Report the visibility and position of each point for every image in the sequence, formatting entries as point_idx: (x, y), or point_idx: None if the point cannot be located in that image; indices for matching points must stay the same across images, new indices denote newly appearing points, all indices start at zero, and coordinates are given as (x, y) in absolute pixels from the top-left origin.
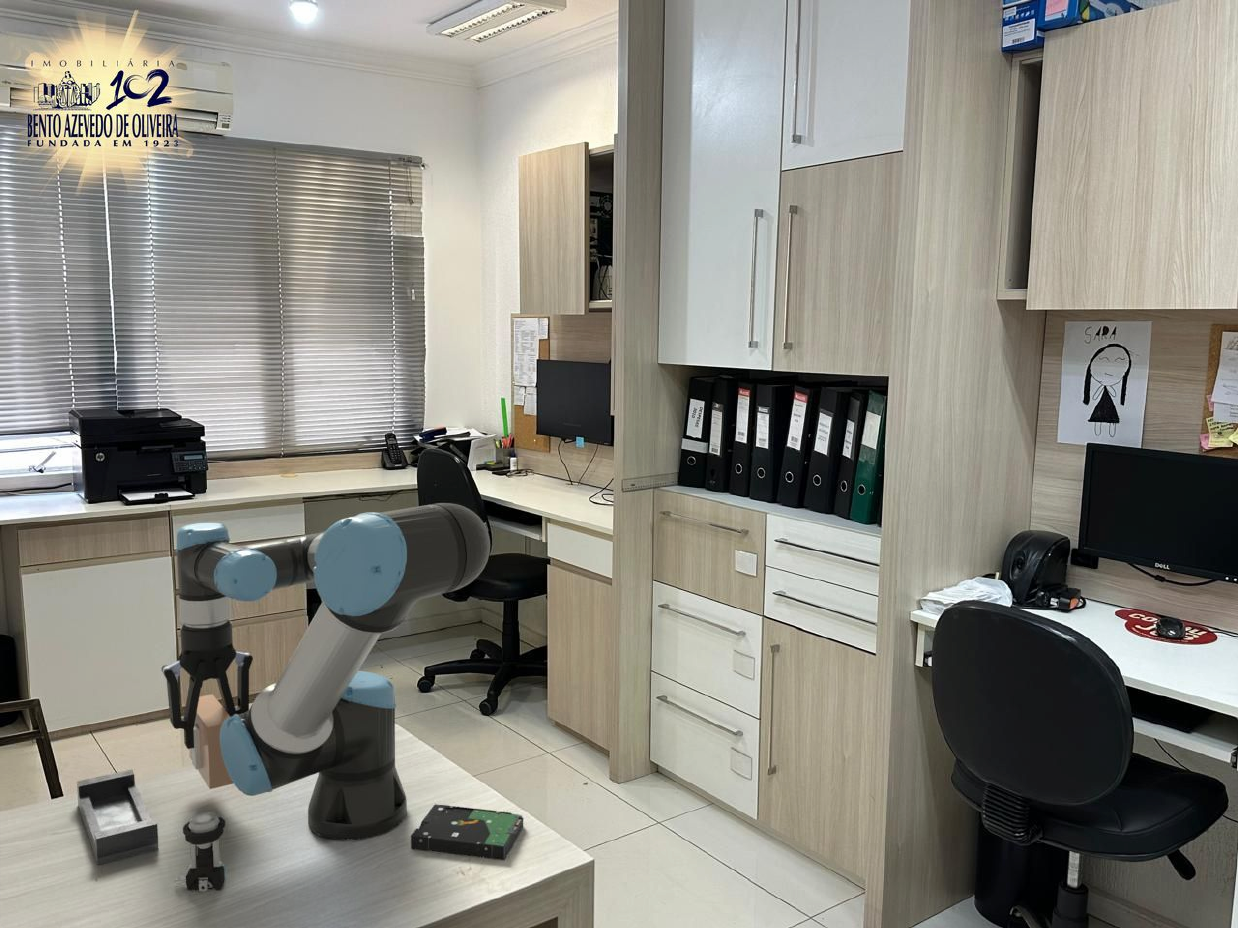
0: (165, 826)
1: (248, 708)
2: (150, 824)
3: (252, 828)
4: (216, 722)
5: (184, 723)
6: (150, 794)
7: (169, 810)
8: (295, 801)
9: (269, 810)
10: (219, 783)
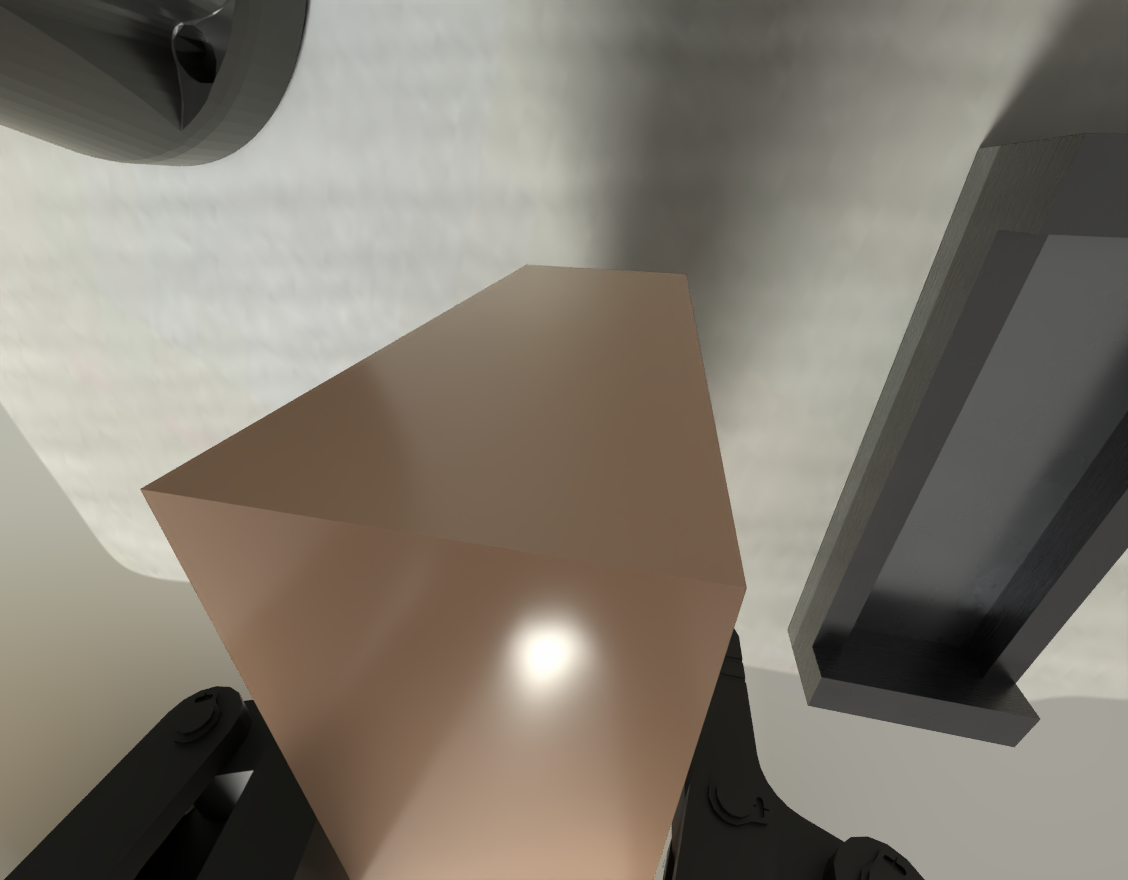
0: (829, 354)
1: (148, 736)
2: (1125, 149)
3: (544, 94)
4: (482, 655)
5: (784, 871)
6: (752, 591)
7: (755, 463)
8: (348, 247)
9: (447, 232)
10: (625, 273)
